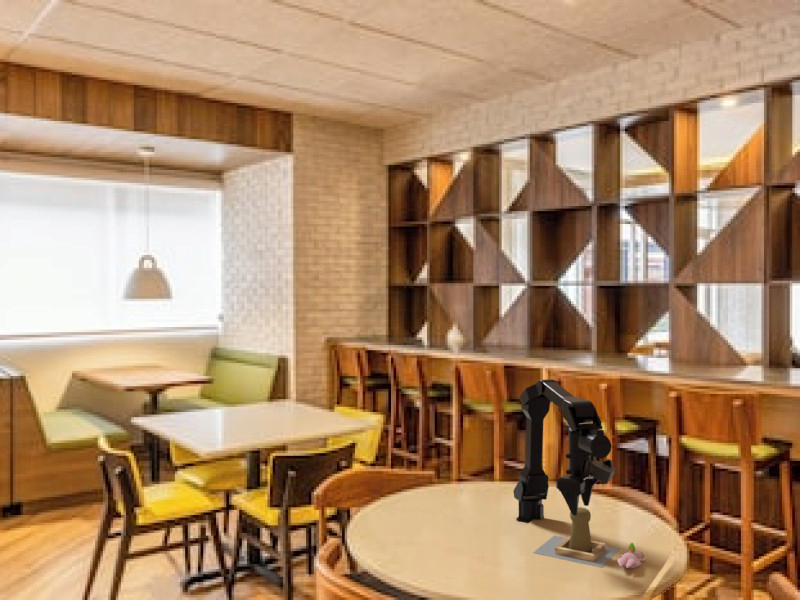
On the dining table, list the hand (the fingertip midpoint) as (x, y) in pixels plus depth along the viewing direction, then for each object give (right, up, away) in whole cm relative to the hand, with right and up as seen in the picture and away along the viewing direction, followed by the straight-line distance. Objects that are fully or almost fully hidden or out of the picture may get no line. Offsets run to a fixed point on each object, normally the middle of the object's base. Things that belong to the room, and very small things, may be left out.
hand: (580, 510), depth 176 cm
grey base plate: (-1, -12, +1) cm, 12 cm away
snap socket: (0, -11, 0) cm, 11 cm away
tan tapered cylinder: (0, -11, 0) cm, 11 cm away
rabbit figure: (+10, -12, -8) cm, 18 cm away
